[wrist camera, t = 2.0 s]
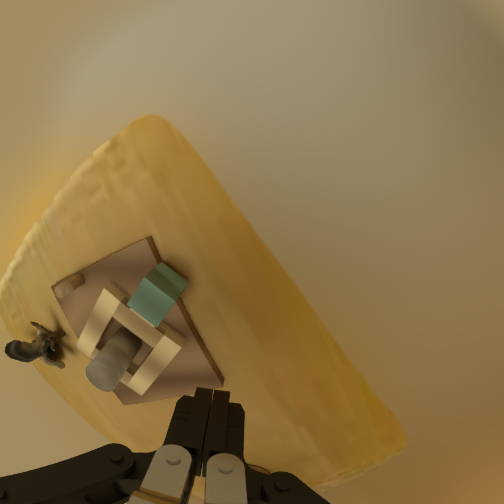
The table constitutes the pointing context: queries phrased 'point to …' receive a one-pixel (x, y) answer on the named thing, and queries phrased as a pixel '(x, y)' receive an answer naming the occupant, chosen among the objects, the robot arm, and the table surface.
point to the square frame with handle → (139, 323)
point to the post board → (176, 318)
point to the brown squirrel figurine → (37, 347)
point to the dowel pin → (69, 285)
